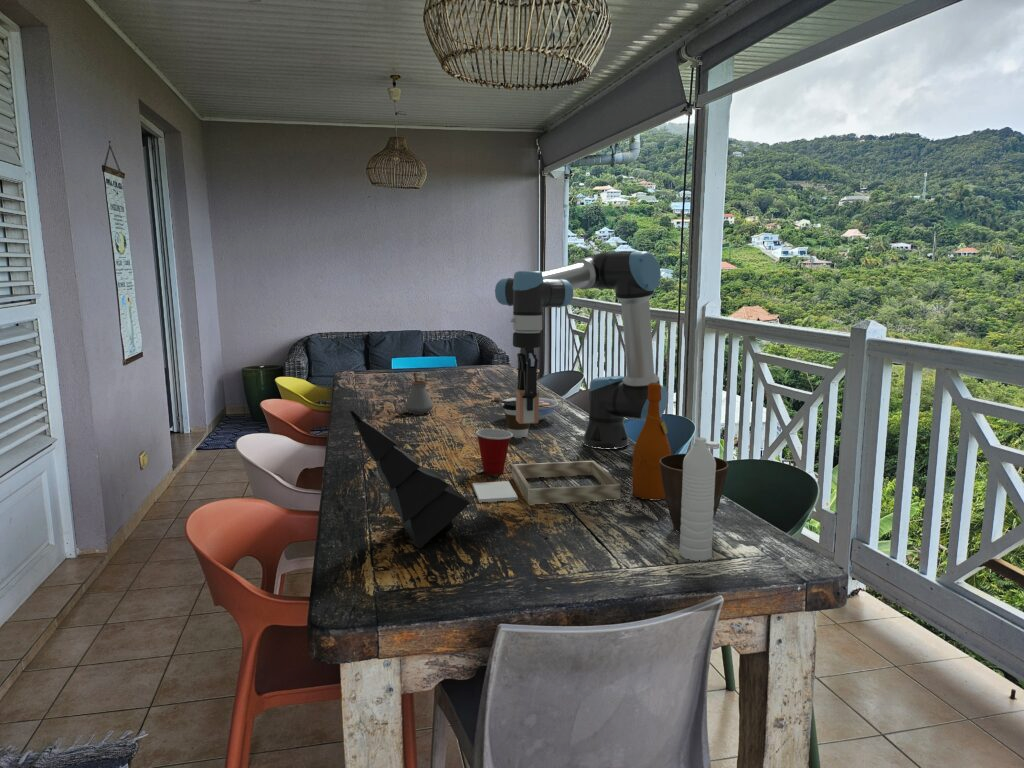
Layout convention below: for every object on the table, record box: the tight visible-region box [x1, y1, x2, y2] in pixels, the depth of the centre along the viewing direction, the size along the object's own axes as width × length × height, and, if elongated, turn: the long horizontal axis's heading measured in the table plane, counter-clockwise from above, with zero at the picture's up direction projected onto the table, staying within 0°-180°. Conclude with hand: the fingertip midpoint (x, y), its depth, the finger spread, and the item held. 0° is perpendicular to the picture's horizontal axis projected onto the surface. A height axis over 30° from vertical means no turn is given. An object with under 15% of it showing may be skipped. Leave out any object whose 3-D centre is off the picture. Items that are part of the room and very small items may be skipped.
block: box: [515, 389, 540, 424], centre depth 185 cm, size 5×5×8 cm
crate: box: [511, 460, 622, 506], centre depth 191 cm, size 24×24×4 cm
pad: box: [472, 480, 519, 504], centre depth 187 cm, size 10×14×1 cm
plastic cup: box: [475, 428, 513, 475], centre depth 206 cm, size 11×11×12 cm
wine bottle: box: [631, 383, 672, 500], centre depth 183 cm, size 10×10×30 cm
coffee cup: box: [502, 401, 531, 439], centre depth 250 cm, size 11×11×12 cm
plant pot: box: [660, 453, 729, 533], centre depth 160 cm, size 15×15×16 cm
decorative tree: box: [349, 410, 471, 549], centre depth 153 cm, size 15×15×35 cm
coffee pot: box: [405, 371, 434, 415], centre depth 296 cm, size 21×12×15 cm, turn 14°
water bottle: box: [678, 436, 720, 562], centre depth 143 cm, size 9×6×25 cm
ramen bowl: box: [490, 397, 559, 421], centre depth 277 cm, size 25×23×8 cm
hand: (526, 420), depth 186 cm, fingers closed on block, 5 cm apart
